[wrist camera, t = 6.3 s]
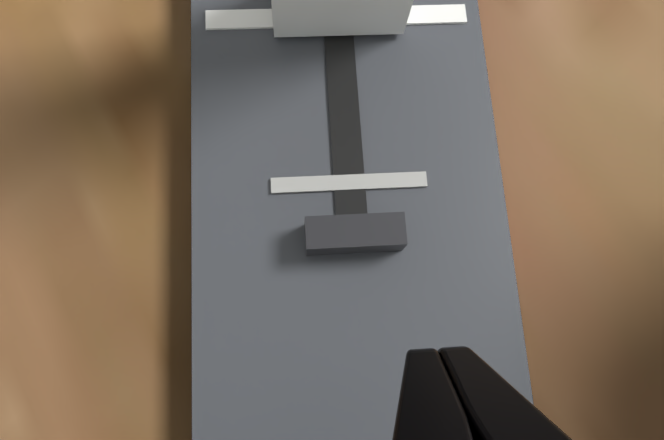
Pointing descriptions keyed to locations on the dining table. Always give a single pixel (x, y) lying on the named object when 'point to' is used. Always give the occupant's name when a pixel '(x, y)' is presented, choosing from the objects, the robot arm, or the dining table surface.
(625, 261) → the dining table surface
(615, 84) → the dining table surface
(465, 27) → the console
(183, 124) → the dining table surface
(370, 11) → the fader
